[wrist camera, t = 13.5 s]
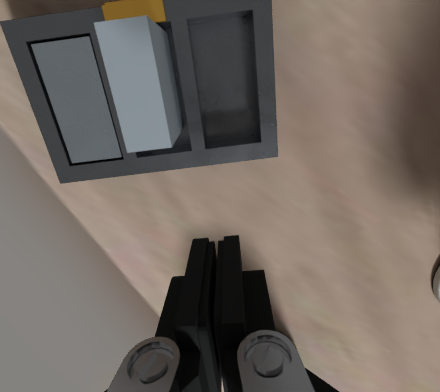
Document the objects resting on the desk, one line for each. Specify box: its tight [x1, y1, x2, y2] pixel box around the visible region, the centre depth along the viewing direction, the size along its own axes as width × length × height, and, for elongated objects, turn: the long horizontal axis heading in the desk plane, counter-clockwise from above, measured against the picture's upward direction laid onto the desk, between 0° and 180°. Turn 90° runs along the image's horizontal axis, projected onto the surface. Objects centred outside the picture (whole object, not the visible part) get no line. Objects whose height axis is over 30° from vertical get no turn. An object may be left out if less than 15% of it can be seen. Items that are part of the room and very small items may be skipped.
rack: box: [0, 0, 278, 184], centre depth 25 cm, size 20×13×4 cm, turn 97°
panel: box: [94, 15, 183, 153], centre depth 22 cm, size 3×8×8 cm, turn 7°
